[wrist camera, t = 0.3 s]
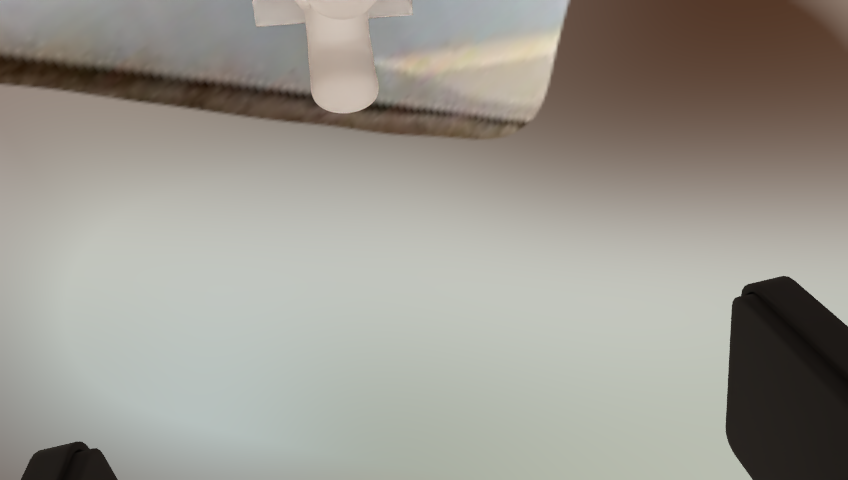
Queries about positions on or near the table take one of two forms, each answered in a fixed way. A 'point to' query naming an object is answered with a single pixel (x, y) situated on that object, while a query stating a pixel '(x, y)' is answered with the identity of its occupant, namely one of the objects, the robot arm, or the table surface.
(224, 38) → the table surface
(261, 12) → the figurine
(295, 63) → the table surface
